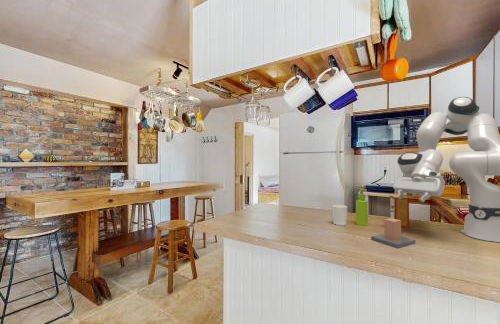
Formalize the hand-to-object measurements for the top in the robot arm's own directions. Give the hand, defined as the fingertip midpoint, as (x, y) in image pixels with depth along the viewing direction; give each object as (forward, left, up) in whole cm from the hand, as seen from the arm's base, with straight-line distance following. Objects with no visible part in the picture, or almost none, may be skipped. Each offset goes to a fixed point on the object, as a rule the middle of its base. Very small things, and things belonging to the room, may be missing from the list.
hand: (409, 199), depth 111 cm
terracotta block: (+12, 0, -16) cm, 20 cm away
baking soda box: (-16, -15, -18) cm, 28 cm away
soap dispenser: (0, -26, -18) cm, 31 cm away
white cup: (+10, -32, -18) cm, 38 cm away
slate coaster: (+12, 0, -17) cm, 21 cm away
